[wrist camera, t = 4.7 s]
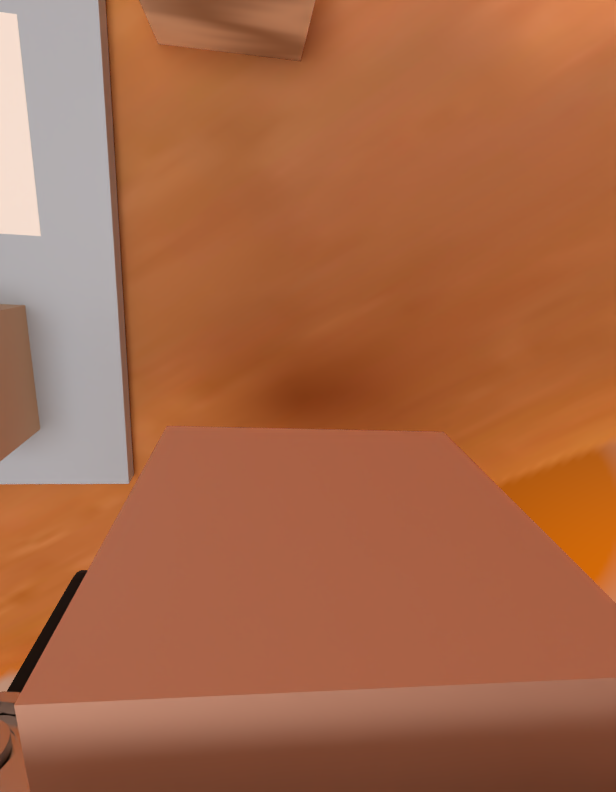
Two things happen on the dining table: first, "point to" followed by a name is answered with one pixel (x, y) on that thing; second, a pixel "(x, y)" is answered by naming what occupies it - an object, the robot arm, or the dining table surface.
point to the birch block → (233, 25)
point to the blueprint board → (60, 251)
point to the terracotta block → (324, 630)
